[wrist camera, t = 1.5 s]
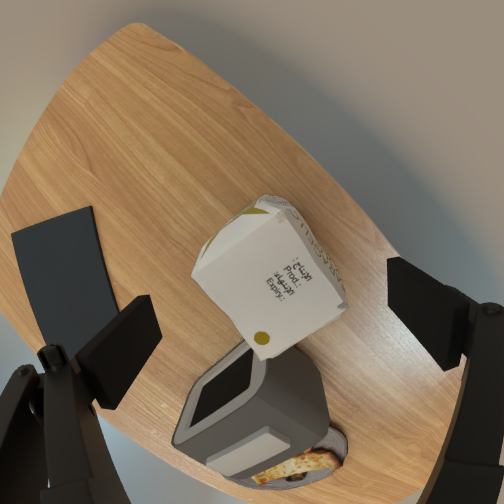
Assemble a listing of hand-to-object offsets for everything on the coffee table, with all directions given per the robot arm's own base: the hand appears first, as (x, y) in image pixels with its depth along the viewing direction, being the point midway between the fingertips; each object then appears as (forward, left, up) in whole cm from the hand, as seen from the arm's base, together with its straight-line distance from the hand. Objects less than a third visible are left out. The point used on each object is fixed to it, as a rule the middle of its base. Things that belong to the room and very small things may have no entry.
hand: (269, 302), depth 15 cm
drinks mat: (+4, -33, -20) cm, 39 cm away
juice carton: (0, 0, -20) cm, 20 cm away
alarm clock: (+20, -5, -20) cm, 29 cm away
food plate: (+40, -4, -20) cm, 45 cm away
